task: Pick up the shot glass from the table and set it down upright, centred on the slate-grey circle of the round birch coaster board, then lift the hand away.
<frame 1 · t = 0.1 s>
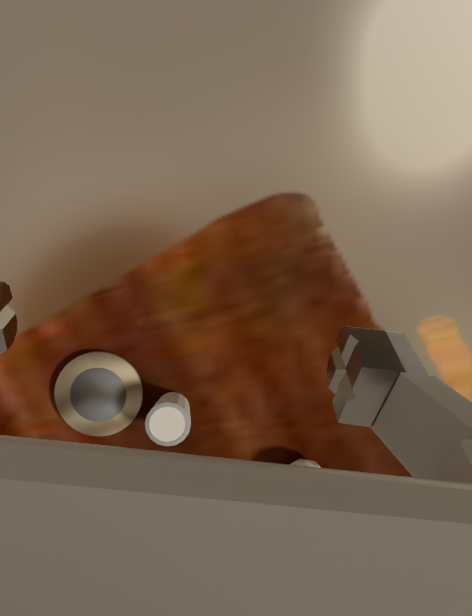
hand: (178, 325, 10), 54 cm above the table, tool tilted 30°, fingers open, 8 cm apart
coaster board: (100, 392, 65), on the table
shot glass: (173, 407, 66), on the table
geometric ball: (299, 472, 68), on the table
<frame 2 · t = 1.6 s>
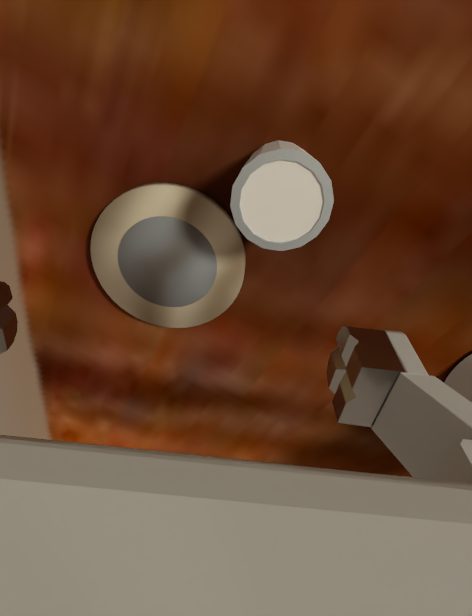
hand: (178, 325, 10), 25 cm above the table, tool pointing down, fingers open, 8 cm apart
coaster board: (170, 258, 36), on the table
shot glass: (278, 176, 32), on the table
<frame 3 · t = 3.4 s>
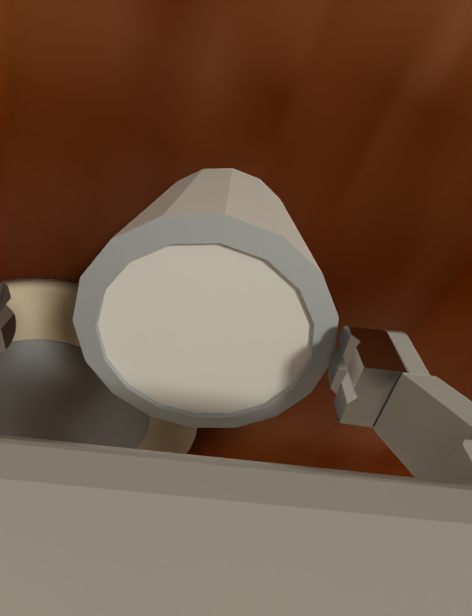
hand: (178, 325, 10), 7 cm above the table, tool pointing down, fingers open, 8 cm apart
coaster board: (71, 392, 21), on the table
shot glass: (222, 236, 16), on the table, touching gripper
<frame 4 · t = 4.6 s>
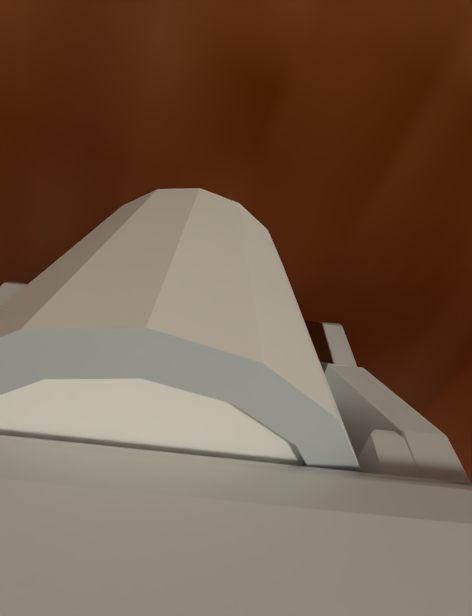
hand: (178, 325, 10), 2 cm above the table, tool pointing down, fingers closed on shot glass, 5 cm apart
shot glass: (189, 277, 12), on the table, touching gripper
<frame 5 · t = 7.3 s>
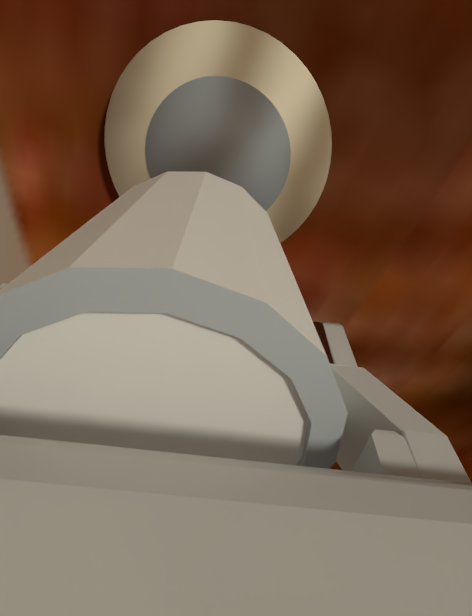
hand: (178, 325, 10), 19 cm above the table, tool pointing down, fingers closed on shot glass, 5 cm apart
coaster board: (219, 155, 25), on the table
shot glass: (193, 256, 13), point 15 cm above the table, touching gripper
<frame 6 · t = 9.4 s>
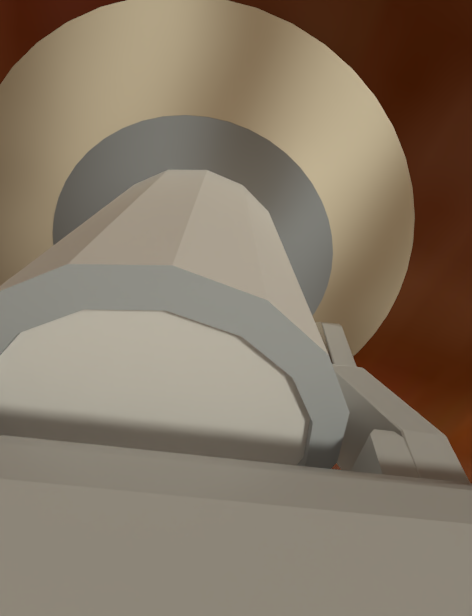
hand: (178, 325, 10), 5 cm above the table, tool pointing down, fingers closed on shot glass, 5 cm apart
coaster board: (197, 250, 14), on the table
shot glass: (193, 255, 13), point 1 cm above the table, touching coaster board, gripper
when the fingers open (5 cm above the table, at t = 9.4 s): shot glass stays where it is, resting on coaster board.
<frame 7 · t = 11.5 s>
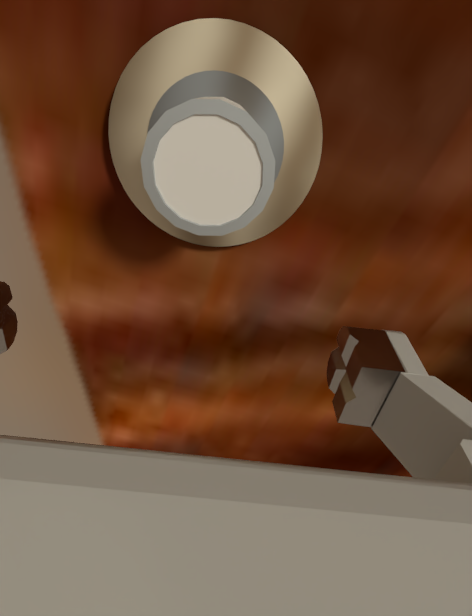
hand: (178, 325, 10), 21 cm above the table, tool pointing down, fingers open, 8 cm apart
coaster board: (216, 145, 27), on the table
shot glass: (215, 143, 26), point 1 cm above the table, touching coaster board
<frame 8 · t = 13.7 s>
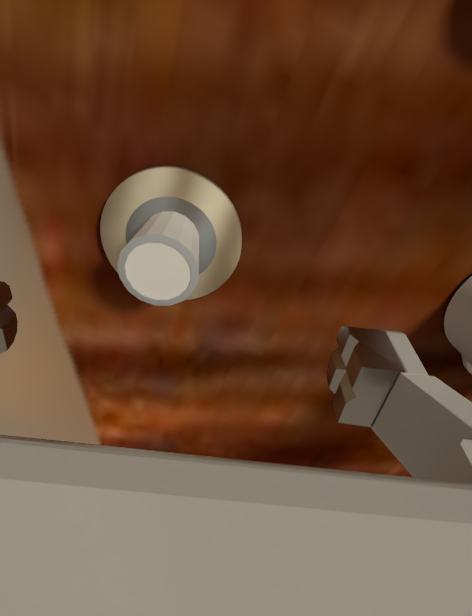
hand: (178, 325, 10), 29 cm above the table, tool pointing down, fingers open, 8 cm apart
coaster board: (173, 236, 40), on the table
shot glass: (171, 237, 39), point 1 cm above the table, touching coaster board
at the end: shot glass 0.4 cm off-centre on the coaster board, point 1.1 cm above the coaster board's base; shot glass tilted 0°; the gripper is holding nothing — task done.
